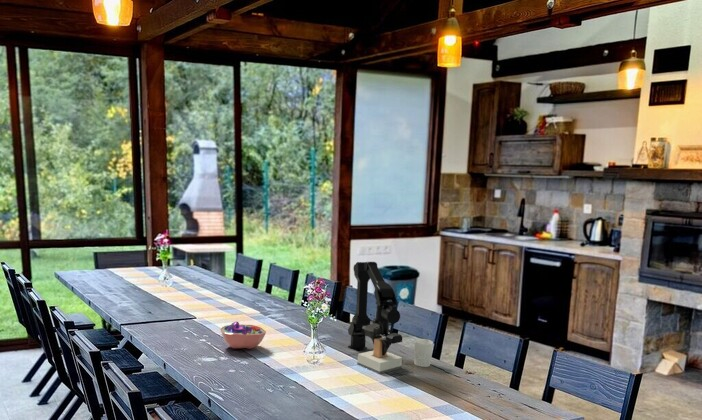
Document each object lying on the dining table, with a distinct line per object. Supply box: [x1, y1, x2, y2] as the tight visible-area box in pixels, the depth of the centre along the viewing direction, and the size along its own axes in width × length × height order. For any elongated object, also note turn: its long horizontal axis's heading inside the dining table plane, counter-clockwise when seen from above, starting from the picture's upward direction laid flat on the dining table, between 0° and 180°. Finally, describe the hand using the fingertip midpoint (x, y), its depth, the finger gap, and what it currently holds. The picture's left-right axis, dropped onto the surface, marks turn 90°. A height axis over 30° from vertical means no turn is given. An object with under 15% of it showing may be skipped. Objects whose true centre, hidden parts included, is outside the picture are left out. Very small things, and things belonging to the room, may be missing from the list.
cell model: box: [219, 321, 267, 350], centre depth 239 cm, size 17×20×11 cm
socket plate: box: [357, 350, 403, 375], centre depth 228 cm, size 13×13×5 cm
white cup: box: [413, 338, 434, 368], centre depth 234 cm, size 8×8×10 cm
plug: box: [372, 336, 388, 359], centre depth 227 cm, size 4×4×8 cm
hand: (380, 354), depth 228 cm, fingers closed on plug, 3 cm apart
